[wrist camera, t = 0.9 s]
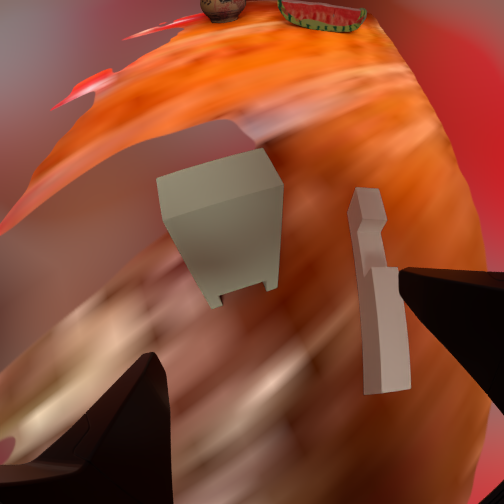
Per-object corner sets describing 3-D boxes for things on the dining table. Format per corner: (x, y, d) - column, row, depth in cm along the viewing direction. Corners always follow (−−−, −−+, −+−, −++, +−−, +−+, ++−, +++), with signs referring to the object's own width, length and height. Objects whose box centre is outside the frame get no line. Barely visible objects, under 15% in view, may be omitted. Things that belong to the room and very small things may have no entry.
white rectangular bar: (389, 391, 19) (411, 388, 16) (363, 394, 20) (381, 393, 16) (368, 213, 28) (378, 188, 25) (346, 212, 28) (355, 187, 25)
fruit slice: (362, 34, 63) (365, 8, 55) (364, 38, 60) (367, 11, 52) (280, 23, 67) (280, -3, 59) (277, 27, 64) (277, -1, 56)
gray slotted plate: (265, 259, 26) (262, 147, 15) (277, 287, 25) (283, 184, 13) (203, 279, 26) (156, 178, 14) (211, 309, 24) (162, 220, 13)
